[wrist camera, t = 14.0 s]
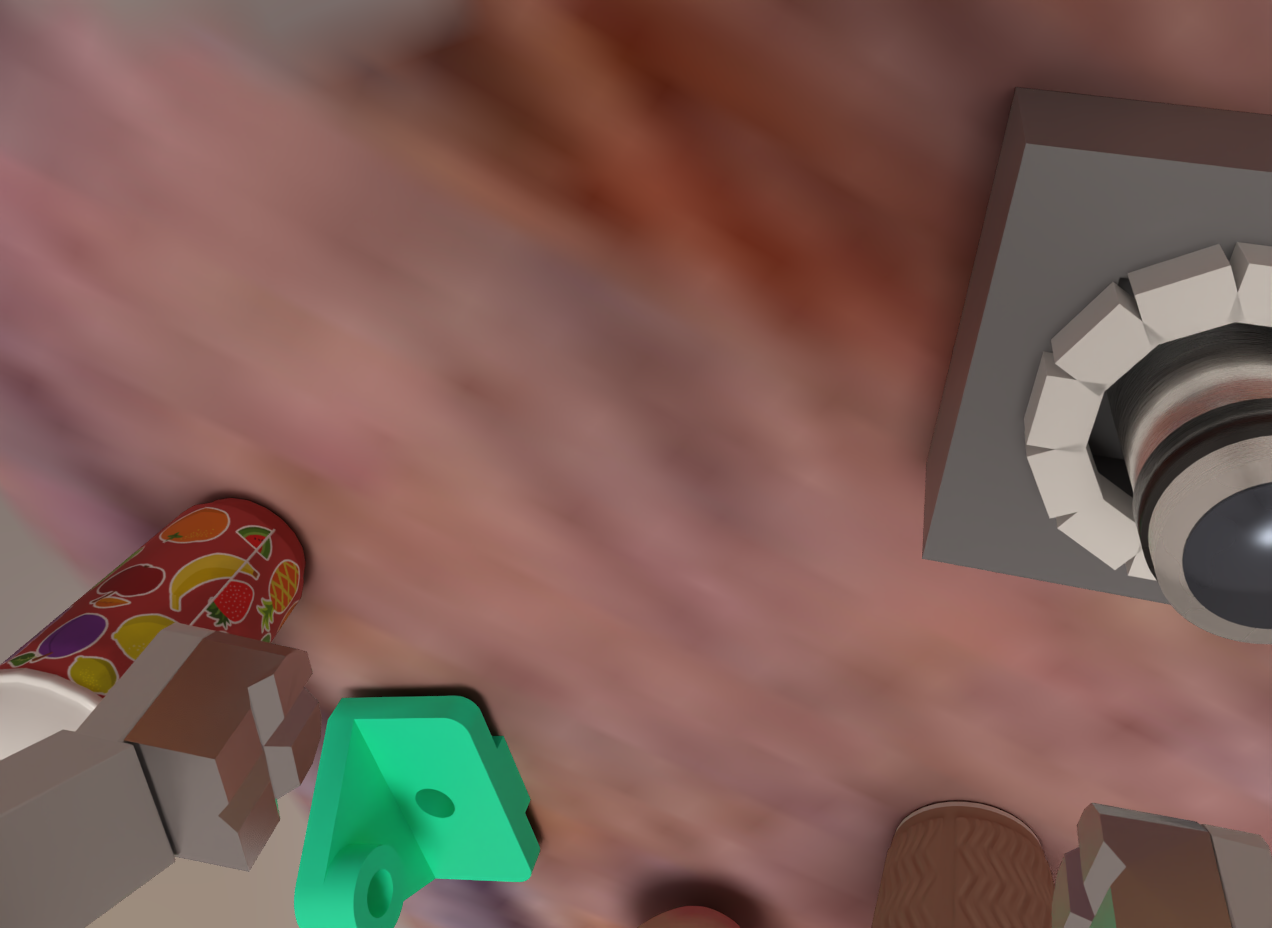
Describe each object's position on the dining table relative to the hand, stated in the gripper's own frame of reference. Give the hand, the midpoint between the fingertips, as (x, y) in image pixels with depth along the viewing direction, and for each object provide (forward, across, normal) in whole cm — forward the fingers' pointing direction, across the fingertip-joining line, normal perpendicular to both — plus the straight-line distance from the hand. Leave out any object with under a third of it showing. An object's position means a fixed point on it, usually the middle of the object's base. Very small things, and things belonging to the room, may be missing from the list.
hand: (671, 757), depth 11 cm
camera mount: (+28, +16, +38) cm, 50 cm away
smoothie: (+28, +25, +25) cm, 46 cm away
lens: (+25, -12, +8) cm, 29 cm away
